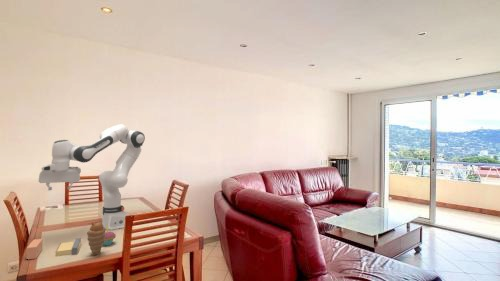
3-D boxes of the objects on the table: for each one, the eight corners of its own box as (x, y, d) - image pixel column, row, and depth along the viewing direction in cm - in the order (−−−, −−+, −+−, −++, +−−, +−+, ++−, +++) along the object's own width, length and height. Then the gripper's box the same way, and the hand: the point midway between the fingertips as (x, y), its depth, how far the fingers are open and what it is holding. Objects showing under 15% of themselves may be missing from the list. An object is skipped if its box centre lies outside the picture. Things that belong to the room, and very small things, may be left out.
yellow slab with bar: (81, 244, 156) (81, 237, 156) (77, 254, 143) (77, 247, 143) (60, 246, 152) (60, 240, 152) (54, 257, 139) (55, 250, 139)
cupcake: (97, 243, 158) (98, 223, 158) (112, 240, 164) (113, 221, 164) (101, 248, 152) (102, 227, 152) (117, 244, 158) (118, 224, 158)
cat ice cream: (102, 249, 150) (103, 218, 150) (107, 254, 145) (108, 221, 145) (84, 254, 143) (85, 221, 143) (89, 259, 138) (90, 224, 138)
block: (42, 249, 147) (42, 238, 147) (36, 258, 136) (36, 246, 136) (33, 250, 146) (33, 239, 145) (26, 259, 135) (26, 247, 135)
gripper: (81, 166, 167) (80, 188, 167) (41, 166, 158) (40, 189, 158) (80, 167, 161) (79, 189, 161) (38, 167, 152) (37, 191, 152)
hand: (59, 189), depth 159 cm, fingers open, 8 cm apart
